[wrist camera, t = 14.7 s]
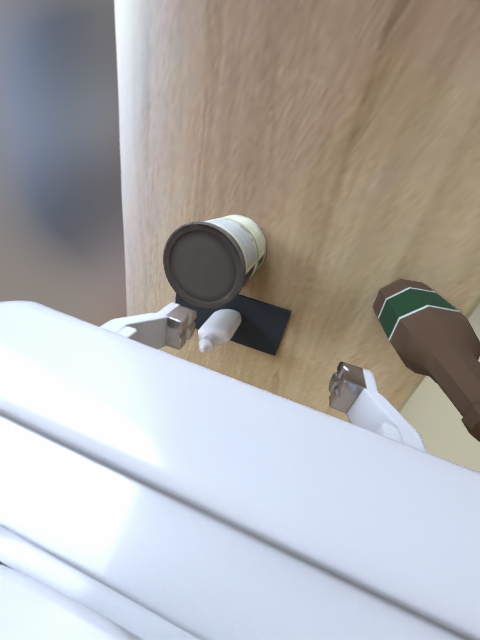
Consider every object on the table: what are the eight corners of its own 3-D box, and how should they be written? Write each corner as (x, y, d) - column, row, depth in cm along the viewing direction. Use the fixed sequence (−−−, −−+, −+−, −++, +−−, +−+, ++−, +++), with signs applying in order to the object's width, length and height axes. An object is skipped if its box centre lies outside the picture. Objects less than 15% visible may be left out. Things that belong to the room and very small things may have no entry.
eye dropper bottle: (237, 331, 47) (214, 369, 37) (211, 319, 47) (182, 353, 37) (244, 313, 45) (223, 348, 35) (218, 301, 45) (188, 331, 35)
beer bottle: (369, 282, 37) (435, 389, 16) (431, 272, 34) (604, 384, 14) (373, 327, 40) (433, 465, 19) (430, 320, 37) (572, 475, 16)
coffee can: (261, 283, 42) (238, 317, 30) (206, 271, 44) (164, 299, 32) (272, 219, 37) (250, 230, 25) (209, 209, 39) (160, 215, 27)
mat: (178, 275, 46) (177, 276, 45) (291, 310, 43) (290, 312, 42) (175, 319, 51) (173, 320, 50) (275, 354, 48) (275, 356, 47)
